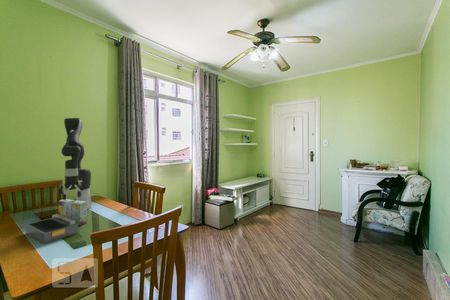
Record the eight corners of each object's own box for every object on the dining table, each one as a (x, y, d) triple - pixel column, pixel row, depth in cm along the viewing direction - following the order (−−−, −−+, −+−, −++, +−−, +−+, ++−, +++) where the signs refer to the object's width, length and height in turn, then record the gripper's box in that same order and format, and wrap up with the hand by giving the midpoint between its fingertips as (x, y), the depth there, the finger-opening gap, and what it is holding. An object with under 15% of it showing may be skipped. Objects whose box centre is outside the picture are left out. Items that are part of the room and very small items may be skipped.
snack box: (87, 223, 143) (87, 201, 143) (79, 226, 138) (79, 203, 138) (66, 219, 150) (65, 198, 150) (57, 221, 145) (57, 200, 145)
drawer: (58, 224, 140) (58, 213, 140) (78, 233, 127) (78, 220, 127) (26, 233, 126) (25, 221, 126) (44, 244, 113) (44, 230, 113)
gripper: (80, 173, 151) (80, 195, 152) (56, 175, 139) (56, 199, 139) (85, 174, 147) (85, 196, 148) (61, 176, 135) (62, 201, 135)
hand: (71, 198), depth 144 cm, fingers open, 8 cm apart
